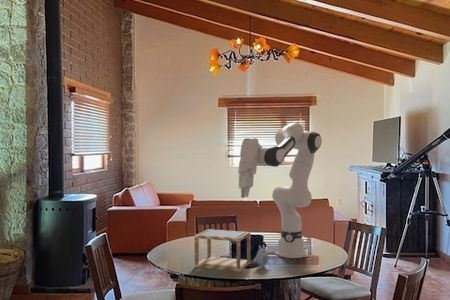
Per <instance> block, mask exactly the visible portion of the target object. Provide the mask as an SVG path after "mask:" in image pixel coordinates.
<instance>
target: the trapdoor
mask: <svg viewBox="0 0 450 300" xmlns="http://www.w3.org/2000/svg"><path fill="white" fill-rule="evenodd" d="M217 230H218V229H213V230H209V231H207V232H205V233H203V234H200V235H207V236H220V237H234V238H238V237H240V236H241V235H243V234H245V232H246V231H242V232H231V231H232V230H227V231H217ZM231 243H232V244H233V245H234V244H235V245H236V241H231Z"/></svg>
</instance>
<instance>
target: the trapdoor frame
mask: <svg viewBox="0 0 450 300" xmlns="http://www.w3.org/2000/svg"><path fill="white" fill-rule="evenodd" d="M209 230H214V229H213V228H212V229H210V228H208V229H206V230H203V231H201V232H199V233H197V234H194V268H200V269H208V270H220V271H227V270H228V271H229V272H237V271H238V272H239V273H240V272H241V271H242V270H244V269H246V267H247V266H249V265H250V264H251V231H244V232H245V234H243V235H241V236H240V237H238V238H234V237H220V236H207V235H200V234H203V233H205V232H207V231H209ZM216 230H217V231H228V229H227V230H223V229H216ZM230 231H231V232H243V230H241V231H240V230H239V231H238V230H230ZM199 239H200V240H201V239H202V240H206V241H207V243H206V244H207V245H206V247H207V248H206V249H207V250H206V253H207V254H206V256H207V257H205V258H203V259H202V260H199V255H200V254H199V250H200V249H199V248H200V247H199V245H200V244H199V241H200V240H199ZM244 239H246V259H244V258H243V259H242V258H241V241H242V240H244ZM213 240H215V241H216V240H217V241H228V242H232V241H236V243H235V246H236V252H235V253H236V257H235V258H230V257H229V258H228V257H217V256H212V241H213ZM228 271H227V272H228Z"/></svg>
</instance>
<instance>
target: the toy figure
mask: <svg viewBox="0 0 450 300" xmlns="http://www.w3.org/2000/svg"><path fill="white" fill-rule="evenodd" d="M265 248H266V246H265V244H262V246H261V244H260V245H259V246H258V251H257V253H256V255H255V257H254V259H253V263H256V264H257V265H258V270H262V269H266V266H265V265H266V264H267V263H268V261H269V260H270V259H271V257H270V255H268V253H267V251H266V250H265Z"/></svg>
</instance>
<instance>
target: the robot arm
mask: <svg viewBox="0 0 450 300" xmlns="http://www.w3.org/2000/svg"><path fill="white" fill-rule="evenodd" d="M321 136H322V135H320V133H318V132H316V131H309V130H308V131H307V130H305V129H304V127H303V125H302V124H300V123H299V122H292V123H289V124H287V125H285V126H283V127H282V128H281V129H279V130H278V131H277V132H276V133H275V138H274V139H275V143H276V145H277V146H268V147H267V146H266V147H265V146H264V147H263V145H261V144H260V143H259V139H258V138H256V137H247V138H244V139H243V140H242V142H241V146H240V147H241V148H240V151H239V152H240V153H239V154H240V159H239V163H238V172H237V173H238V189H239V190H240V193H241V194H240V198H242V199H245V198H248V197H249V195H250V190H251V188H253V185H254V178H255V177H254V175H256V174H257V168H258V167H275V168H276V167H279V166H280V165H282V163H283V161H284V159H285V158H286V156H287V155H288V154H289V153H291V151H293V149H294V150H297V153H296V156H295V157H294V160H293V161H292V162H293V163H292V165H291V168H290V169H289V170H290V171H289V173H288V175H289V178H290V180H292V183H291V186H288V185H287V186H285V185H280V186H277V187H275V188H274V189H273V191H272V193H271V195H272V199H273V201H274V203H275V204H276V205H277V208H278V209H279V212H280V216H281V230H280V238H279V239H278V240H277V241H278V242H277V243H278V244H277V251H275V253H274V254H275V255H277V256H278V257H282V258H287V259H299V258H308V257H309V249H308V248H306V247H305V241H304V239H303V229H302V216H301V215H300V214H299V212H297V209H296V208H305V207H309V205H310V204H311V202H312V197H313V196H312V194H311V191H310V189H309V186H308V183H309V177H310V174H311V171H312V168H313V165H314V161H315V154H316V152H317V151H318V150H319V149H320V147H321V146H322V142H323V141H322V137H321Z"/></svg>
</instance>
